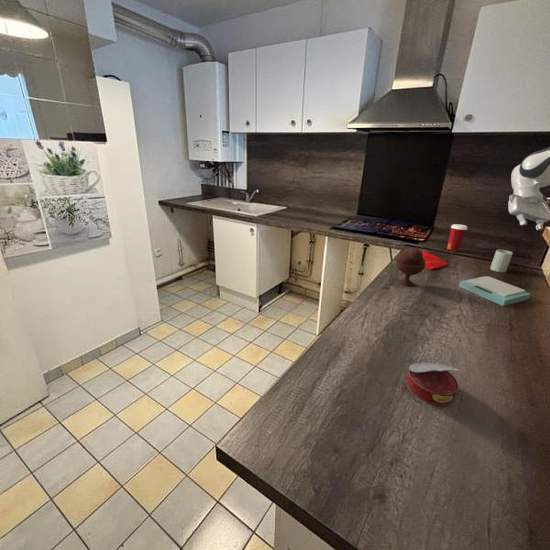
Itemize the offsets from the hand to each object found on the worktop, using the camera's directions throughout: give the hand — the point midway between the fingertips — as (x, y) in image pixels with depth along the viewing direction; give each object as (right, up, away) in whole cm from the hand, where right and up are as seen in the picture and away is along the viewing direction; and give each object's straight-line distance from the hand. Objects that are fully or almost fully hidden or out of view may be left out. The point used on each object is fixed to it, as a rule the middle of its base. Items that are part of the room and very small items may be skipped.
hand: (531, 227), depth 124 cm
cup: (-6, -18, +11) cm, 22 cm away
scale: (-26, -27, -12) cm, 39 cm away
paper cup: (-11, -7, +37) cm, 39 cm away
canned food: (-75, -46, -58) cm, 105 cm away
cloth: (-33, -14, +19) cm, 40 cm away
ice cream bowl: (-57, -24, -6) cm, 62 cm away
